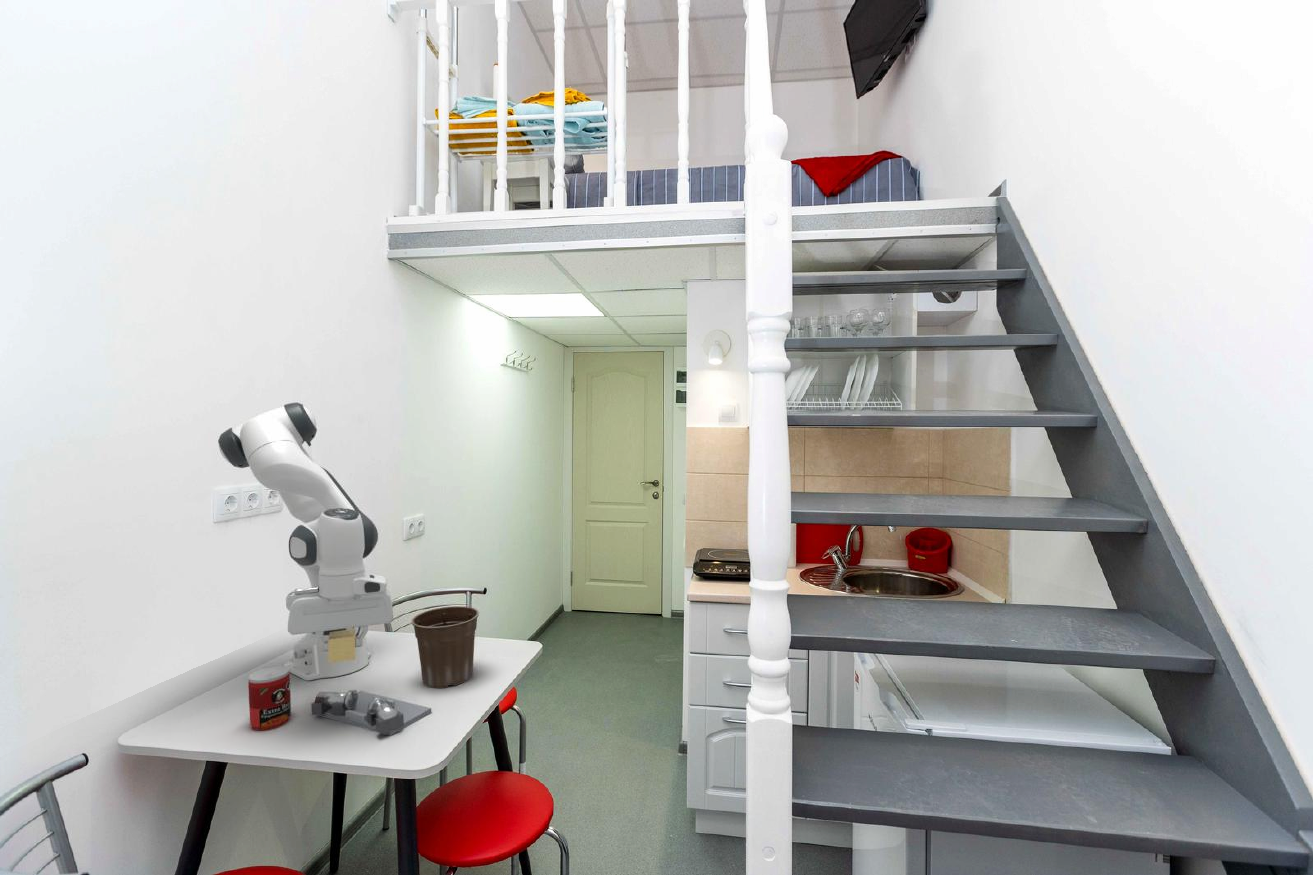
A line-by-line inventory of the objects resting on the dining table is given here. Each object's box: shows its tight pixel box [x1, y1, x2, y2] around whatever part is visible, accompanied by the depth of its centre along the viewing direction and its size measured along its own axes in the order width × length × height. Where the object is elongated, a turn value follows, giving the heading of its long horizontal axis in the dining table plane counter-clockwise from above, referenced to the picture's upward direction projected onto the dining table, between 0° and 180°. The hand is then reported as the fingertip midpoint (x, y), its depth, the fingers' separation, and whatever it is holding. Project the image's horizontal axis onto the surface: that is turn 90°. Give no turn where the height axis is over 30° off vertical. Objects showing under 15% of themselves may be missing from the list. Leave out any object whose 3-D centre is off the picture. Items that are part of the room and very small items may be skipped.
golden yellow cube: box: [328, 629, 356, 663], centre depth 131 cm, size 5×5×5 cm
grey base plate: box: [319, 690, 432, 736], centre depth 136 cm, size 23×11×2 cm, turn 64°
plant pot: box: [411, 605, 480, 689], centre depth 155 cm, size 16×16×16 cm
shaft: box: [310, 689, 358, 716], centre depth 136 cm, size 8×5×4 cm, turn 84°
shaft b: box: [367, 695, 404, 735], centre depth 130 cm, size 8×5×4 cm, turn 44°
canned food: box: [247, 665, 292, 732], centre depth 133 cm, size 8×8×11 cm
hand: (342, 648), depth 132 cm, fingers closed on golden yellow cube, 5 cm apart
